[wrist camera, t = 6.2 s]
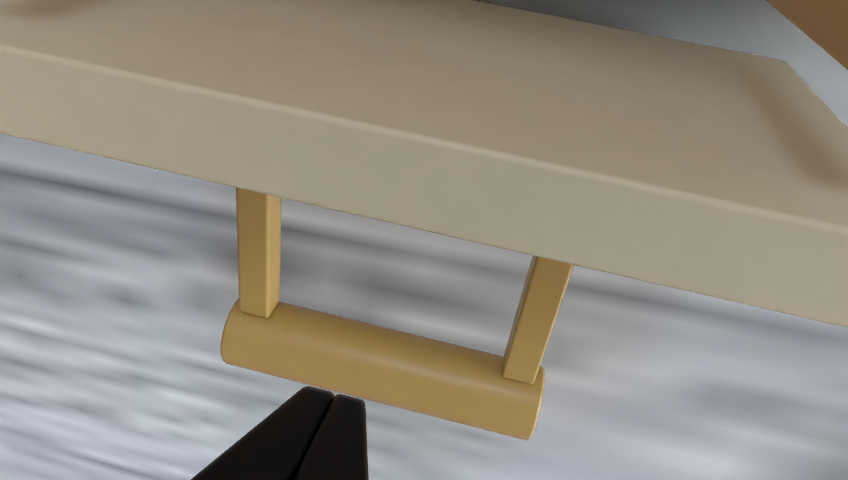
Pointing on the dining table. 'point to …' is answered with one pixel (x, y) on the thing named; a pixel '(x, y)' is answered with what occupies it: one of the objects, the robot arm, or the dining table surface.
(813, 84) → the dining table surface
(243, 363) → the drawer
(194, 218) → the dining table surface
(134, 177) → the dining table surface
